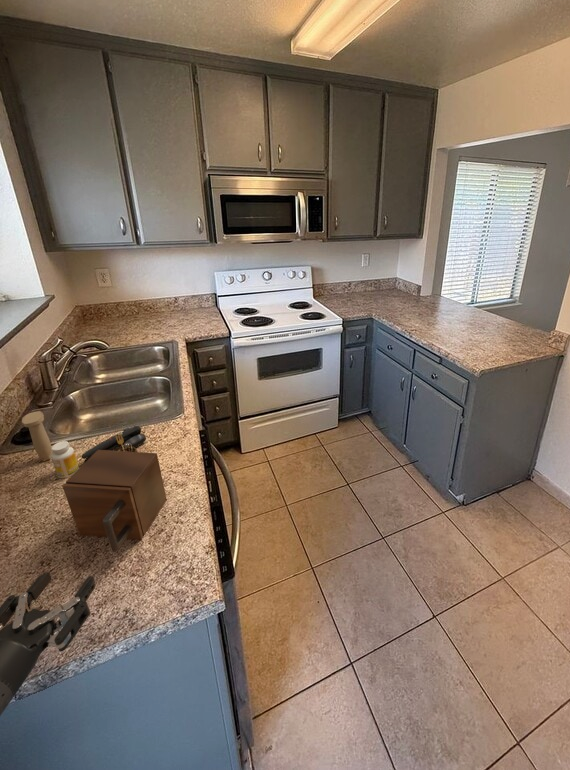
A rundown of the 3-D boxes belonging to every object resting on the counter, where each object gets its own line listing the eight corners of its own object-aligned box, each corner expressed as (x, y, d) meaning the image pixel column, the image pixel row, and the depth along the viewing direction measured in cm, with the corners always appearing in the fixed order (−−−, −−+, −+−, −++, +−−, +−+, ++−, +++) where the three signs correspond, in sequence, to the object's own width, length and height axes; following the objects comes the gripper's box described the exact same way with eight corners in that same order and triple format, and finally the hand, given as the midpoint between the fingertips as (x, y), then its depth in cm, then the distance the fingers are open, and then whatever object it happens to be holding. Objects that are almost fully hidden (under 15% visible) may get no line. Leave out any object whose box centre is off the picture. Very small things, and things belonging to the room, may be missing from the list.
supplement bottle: (55, 481, 101) (46, 454, 98) (59, 468, 106) (50, 442, 102) (78, 475, 103) (69, 448, 100) (80, 463, 108) (72, 437, 104)
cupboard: (144, 536, 85) (131, 486, 79) (82, 531, 86) (65, 481, 80) (166, 500, 95) (156, 453, 89) (111, 496, 96) (97, 449, 91)
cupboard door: (127, 563, 79) (112, 511, 73) (61, 557, 80) (41, 506, 74) (143, 537, 85) (130, 487, 79) (81, 532, 86) (64, 483, 80)
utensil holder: (126, 481, 101) (117, 447, 97) (115, 471, 105) (106, 438, 100) (146, 469, 106) (138, 436, 101) (135, 460, 109) (128, 428, 105)
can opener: (141, 433, 121) (137, 420, 119) (148, 443, 117) (145, 429, 115) (80, 458, 110) (76, 444, 108) (86, 470, 105) (81, 455, 103)
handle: (36, 467, 106) (20, 425, 101) (38, 455, 111) (23, 414, 106) (56, 461, 109) (41, 420, 103) (57, 449, 114) (43, 409, 108)
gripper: (23, 680, 48) (102, 565, 63) (-73, 670, 49) (27, 559, 64) (40, 711, 51) (112, 593, 66) (-52, 700, 52) (40, 587, 67)
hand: (70, 577), depth 65 cm, fingers open, 8 cm apart
